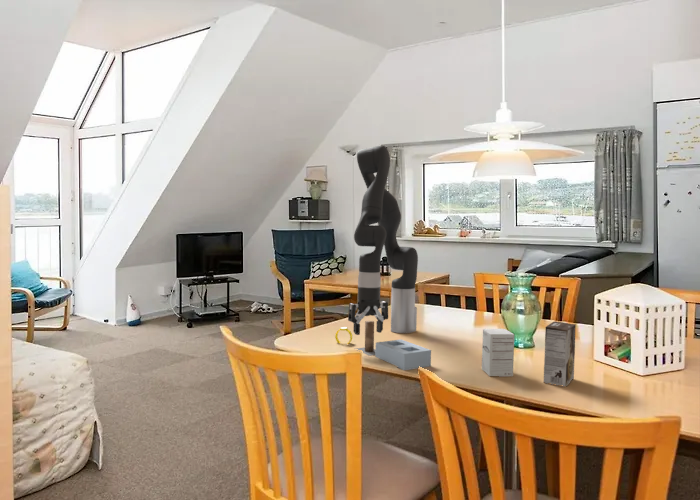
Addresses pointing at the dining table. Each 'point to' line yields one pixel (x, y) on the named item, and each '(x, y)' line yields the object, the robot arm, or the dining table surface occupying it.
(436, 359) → the dining table surface
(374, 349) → the mat
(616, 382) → the dining table surface
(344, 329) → the watch
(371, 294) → the robot arm
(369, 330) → the dowel
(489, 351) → the supplement box
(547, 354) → the coffee box
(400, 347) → the hole block
